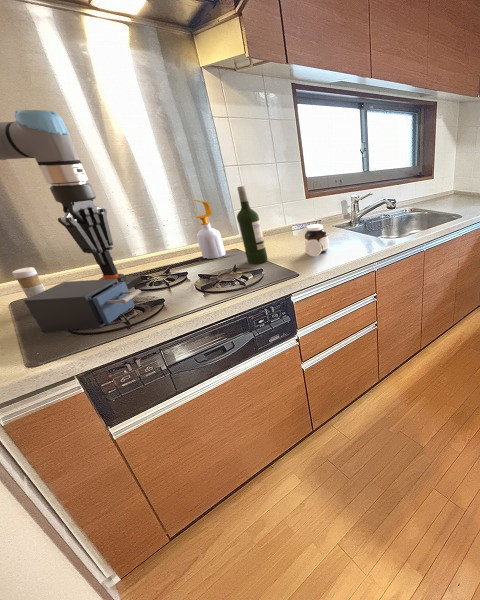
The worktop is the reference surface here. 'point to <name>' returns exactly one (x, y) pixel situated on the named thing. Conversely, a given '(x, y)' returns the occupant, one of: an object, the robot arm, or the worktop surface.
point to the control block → (128, 280)
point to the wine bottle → (251, 231)
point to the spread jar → (316, 240)
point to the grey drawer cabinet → (67, 305)
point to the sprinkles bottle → (29, 281)
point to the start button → (110, 276)
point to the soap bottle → (209, 237)
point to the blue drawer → (112, 301)
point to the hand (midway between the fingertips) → (111, 274)
